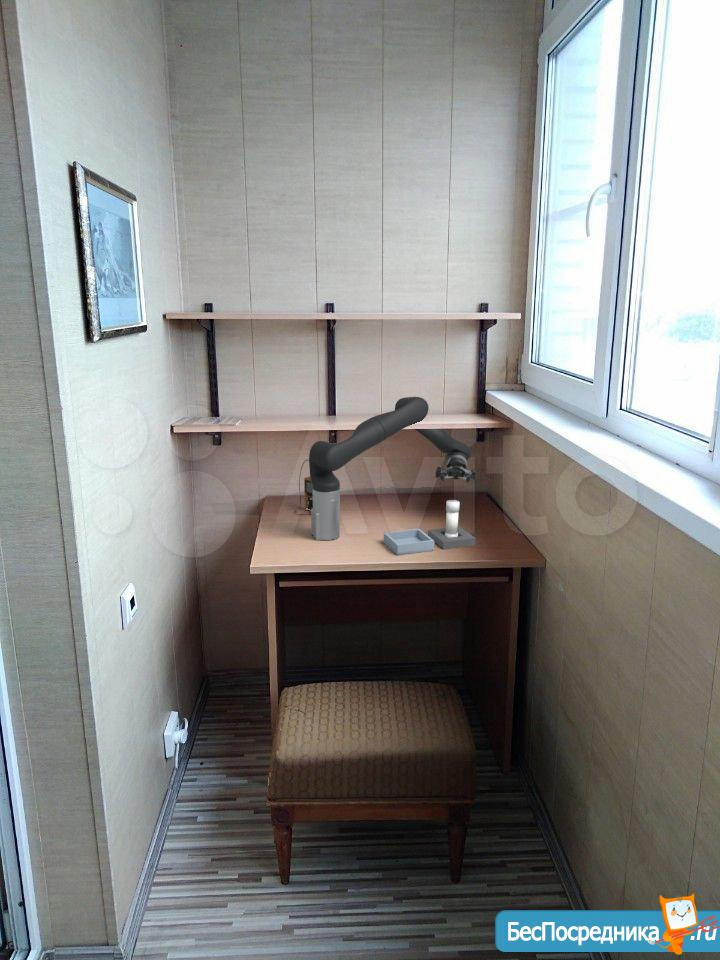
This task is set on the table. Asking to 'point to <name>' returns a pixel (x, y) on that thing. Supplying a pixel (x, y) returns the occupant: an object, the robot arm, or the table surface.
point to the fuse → (452, 518)
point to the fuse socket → (452, 542)
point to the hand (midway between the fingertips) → (455, 478)
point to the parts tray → (408, 541)
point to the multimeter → (307, 491)
